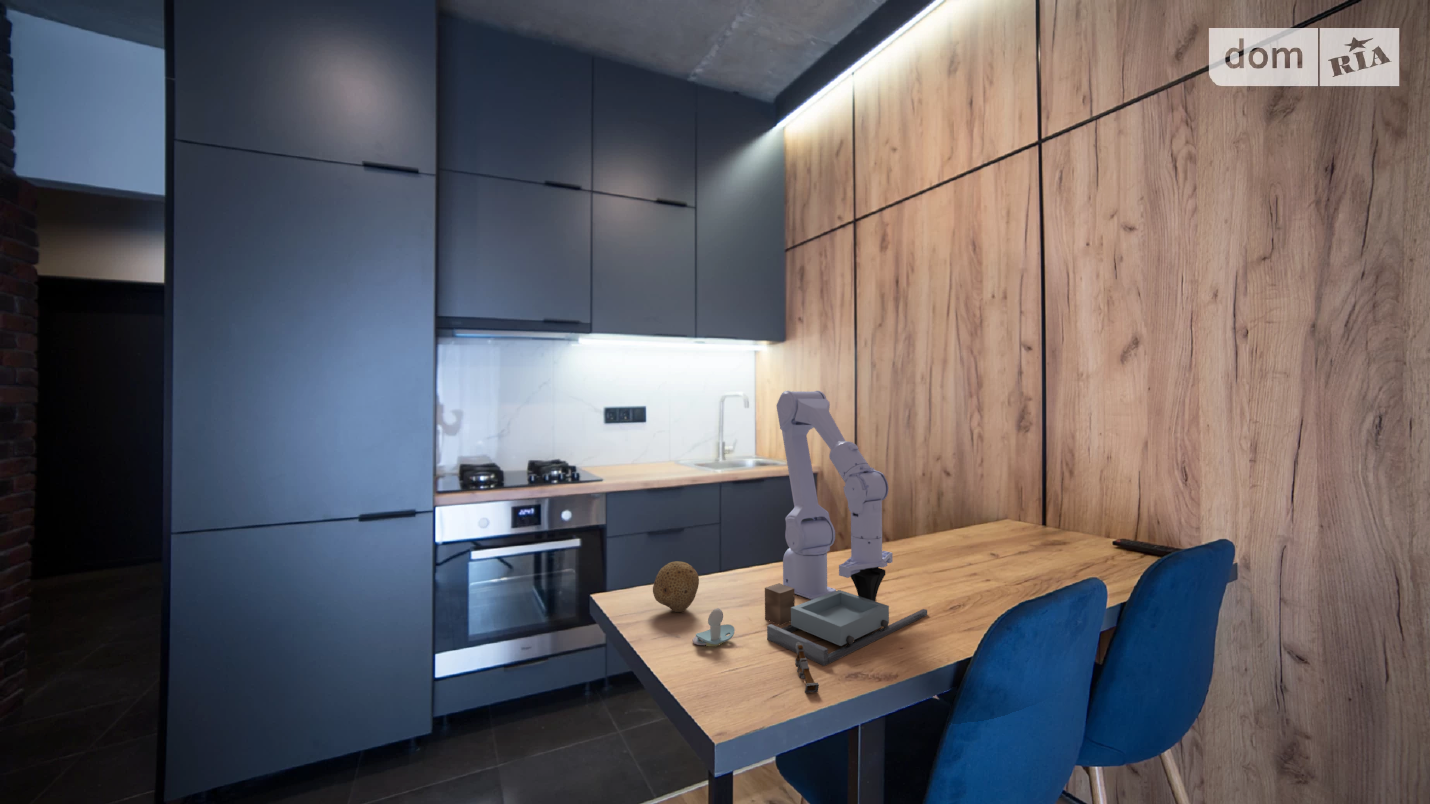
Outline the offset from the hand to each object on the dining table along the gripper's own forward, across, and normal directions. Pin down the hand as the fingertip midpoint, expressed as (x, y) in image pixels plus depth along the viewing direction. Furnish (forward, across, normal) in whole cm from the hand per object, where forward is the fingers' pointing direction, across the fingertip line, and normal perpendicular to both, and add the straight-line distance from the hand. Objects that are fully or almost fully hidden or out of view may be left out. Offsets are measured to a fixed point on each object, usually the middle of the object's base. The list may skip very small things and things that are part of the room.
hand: (867, 606), depth 103 cm
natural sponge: (+3, -25, +27) cm, 37 cm away
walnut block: (+2, -12, +11) cm, 17 cm away
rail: (+2, -4, 0) cm, 5 cm away
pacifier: (+3, -28, +12) cm, 31 cm away
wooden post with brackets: (+3, -27, -7) cm, 28 cm away
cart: (+1, -8, 0) cm, 8 cm away
